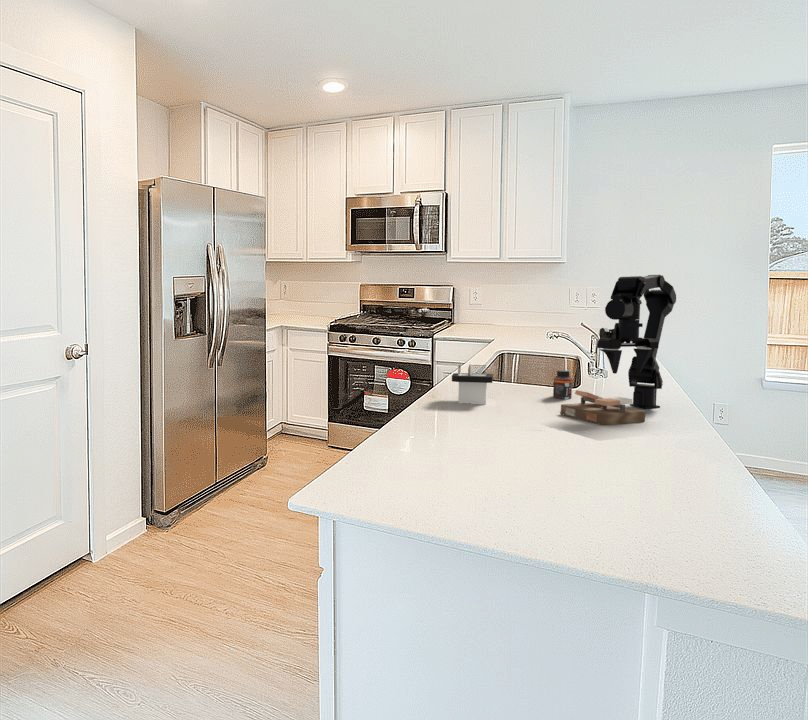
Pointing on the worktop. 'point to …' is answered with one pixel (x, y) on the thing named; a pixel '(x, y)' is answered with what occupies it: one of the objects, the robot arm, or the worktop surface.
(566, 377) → the supplement bottle
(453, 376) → the white and black block
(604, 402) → the block
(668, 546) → the worktop surface
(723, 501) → the worktop surface
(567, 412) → the switch unit
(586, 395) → the rocker
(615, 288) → the robot arm
